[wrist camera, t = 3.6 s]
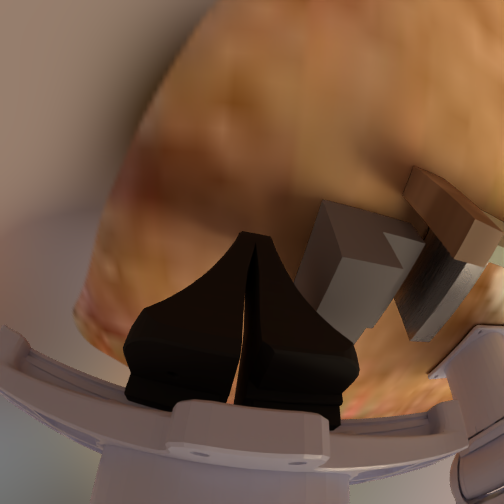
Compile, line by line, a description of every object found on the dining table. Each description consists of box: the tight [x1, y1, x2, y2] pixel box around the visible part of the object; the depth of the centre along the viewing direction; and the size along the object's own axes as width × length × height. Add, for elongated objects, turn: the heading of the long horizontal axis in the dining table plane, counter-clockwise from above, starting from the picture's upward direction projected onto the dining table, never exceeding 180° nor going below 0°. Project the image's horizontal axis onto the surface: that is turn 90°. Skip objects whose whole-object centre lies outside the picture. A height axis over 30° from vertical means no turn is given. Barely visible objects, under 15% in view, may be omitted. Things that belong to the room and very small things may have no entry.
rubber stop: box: [294, 200, 425, 345], centre depth 12 cm, size 5×6×4 cm
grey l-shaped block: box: [394, 210, 504, 342], centre depth 11 cm, size 8×7×4 cm
